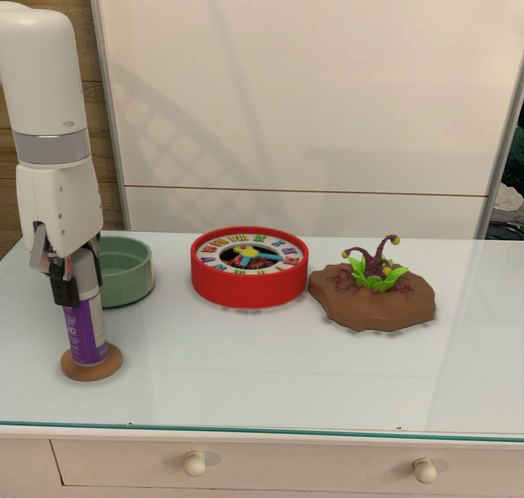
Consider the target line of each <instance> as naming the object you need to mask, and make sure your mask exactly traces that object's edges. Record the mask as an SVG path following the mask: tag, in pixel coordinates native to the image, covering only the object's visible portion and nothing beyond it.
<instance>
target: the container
mask: <svg viewBox="0 0 524 498" xmlns="http://www.w3.org/2000/svg"><path fill="white" fill-rule="evenodd" d="M54 259H55V264H57V265H59V266H60V267H62V259H60V258H54ZM71 263H72V277H76V281H77V287H78V293H79V298H80V306H79V307H78V308H71V307H65V306H62V311H63V315H64V316H63V317H64V321H65V326H66V332H67V336H68V341H69V348H71V352H72V357H73V361H74V363H75V364H77V365H79V366H82V367H93V366H97V365H100V364H102V363H104V362H105V361H106V360H107V359H108V356H109V354H108V346H107V342H108V341H107V335H106V328H105V327H106V326H105V321H104V320H105V319H104V314H103V313H104V312H103V307H102V305H101V299H100V292H99V286H98V280H97V275H96V269H95V264H94V258H93V253H92V252H91V251H90V250H88V249H84V248H78V249H77V250H75V251H74V252H73V253H71Z"/></svg>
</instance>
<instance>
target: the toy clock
mask: <svg viewBox="0 0 524 498" xmlns="http://www.w3.org/2000/svg"><path fill="white" fill-rule="evenodd" d="M189 251H190V252H189V253H190V276H191V277H190V278H191V286H192V288H193V290H194V291H195V292H196V293H197V294H198V295H199V296H200V297H202V298H203V299H205V300H206V301H208V302H211V303H213V304H216V305H219V306H222V307H226V308H231V309H238V310H264V309H265V310H266V309H272V308H277V307H280V306H284V305H286V304H289V303H291V302H293V301H295V300H296V299H298V298H299V297H300V296H302V295H303V293H304V292H305V291H306V289H307V288H306V287H307V281H308V270H309V269H308V268H309V257H310V250H309V248H308V245H307V244H306V243H305V242H304V241H303V240H302V239H300V238H299V237H298V236H296V235H294V234H291V233H290V232H286V231H284V230H281V229H276V228H272V227H265V226H257V225H239V226H236V225H235V226H227V227H223V228H217V229H214V230H211V231H208V232H206V233H204V234H202V235H200V236H198V237H197V238H196V239H195V240H194V241H193V242H192V244H191V245H190V249H189Z"/></svg>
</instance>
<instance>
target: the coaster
mask: <svg viewBox="0 0 524 498" xmlns="http://www.w3.org/2000/svg"><path fill="white" fill-rule="evenodd" d="M107 346H108V354H109V356H108V359H107V360H106V361H105V362H104V363H102V364H100V365H97V366H93V367H82V366H79V365H77V364H75V363H74V361H73V357H72V352H71V347H69V348H68V349H67V350H65V352H63V354H62V355H61V357H60V359H59V365H60V370H61V371H62V373H63V374H64V375H65V376H66V377H67V378H69V379H71V380H74V381H78V382H93V381H99V380H101V379H102V380H103V379H105V378H107V377H110V376H111V375H113V374H115V373H116V372H117V371H118V370H119V369H120V367H121V365H122V363H123V356H122V352H121V350H120V348H119V347H118V346H116V345H115V344H114V343H111V342H108V341H107Z"/></svg>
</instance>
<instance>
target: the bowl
mask: <svg viewBox="0 0 524 498" xmlns="http://www.w3.org/2000/svg"><path fill="white" fill-rule="evenodd" d="M99 247H100V255H99V256H98V257H97V256H96V257H97V258H99V263H100V269H101V276H102V283H103V284H102V286H101V287H99V292H100V299H101V305H102V308H113V307H118V306H123V305H126V304H131V303H133V302H137V301H138V300H140V299H142V298H143V297H145V296H147V295H148V294H149V293H150V292H151V291H152V290H153V288H154V285H155V274H154V273H155V271H154V261H153V259H154V258H153V251H152V249H151V247H150V245H148V244H146V243H145V242H144V241H142V240H140V239H137V238H133V237H129V236H122V235H101V237H100V240H99ZM54 262H55V259H54Z"/></svg>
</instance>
